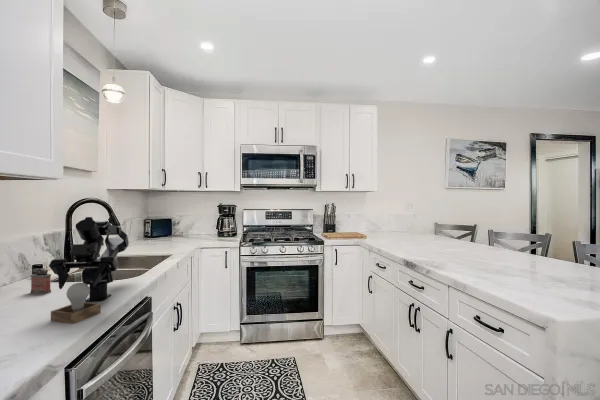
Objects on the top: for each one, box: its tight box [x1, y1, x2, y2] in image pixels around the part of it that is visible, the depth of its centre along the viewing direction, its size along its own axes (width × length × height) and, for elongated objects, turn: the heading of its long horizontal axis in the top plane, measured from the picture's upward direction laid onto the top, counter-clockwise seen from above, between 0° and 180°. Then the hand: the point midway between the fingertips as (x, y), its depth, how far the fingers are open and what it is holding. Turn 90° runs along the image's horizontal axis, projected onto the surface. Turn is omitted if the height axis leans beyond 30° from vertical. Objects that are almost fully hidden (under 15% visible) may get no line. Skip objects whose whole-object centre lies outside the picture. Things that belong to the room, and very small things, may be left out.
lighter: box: [30, 267, 52, 295], centre depth 119 cm, size 8×3×10 cm, turn 84°
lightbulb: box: [66, 282, 90, 313], centre depth 94 cm, size 6×6×11 cm
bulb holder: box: [50, 301, 102, 325], centre depth 94 cm, size 9×9×3 cm
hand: (76, 287), depth 94 cm, fingers open, 9 cm apart
